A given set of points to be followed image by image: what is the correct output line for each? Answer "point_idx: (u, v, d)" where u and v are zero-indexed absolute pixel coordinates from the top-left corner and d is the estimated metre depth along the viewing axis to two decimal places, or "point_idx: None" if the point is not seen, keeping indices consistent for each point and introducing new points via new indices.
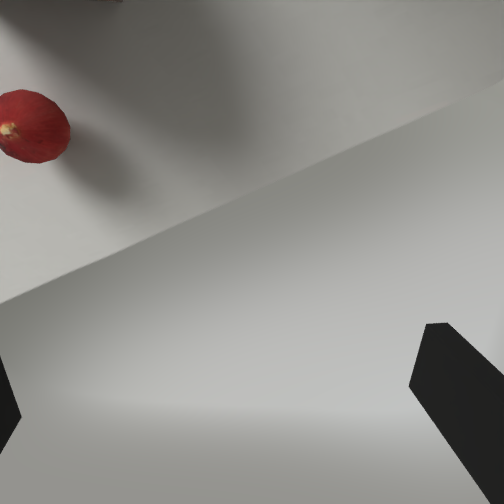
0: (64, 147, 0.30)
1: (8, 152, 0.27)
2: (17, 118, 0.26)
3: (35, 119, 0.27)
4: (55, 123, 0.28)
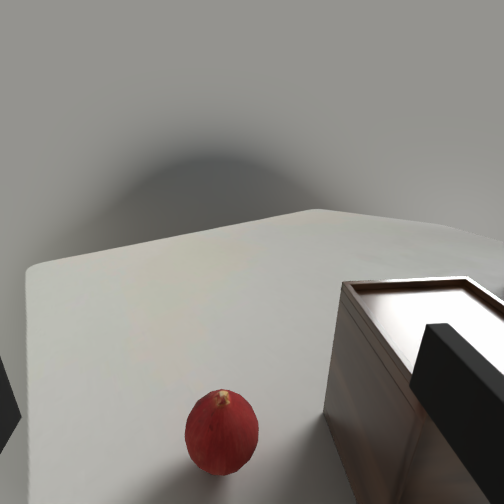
0: (201, 462, 0.25)
1: (199, 401, 0.27)
2: (234, 408, 0.25)
3: (233, 425, 0.25)
4: (230, 448, 0.24)
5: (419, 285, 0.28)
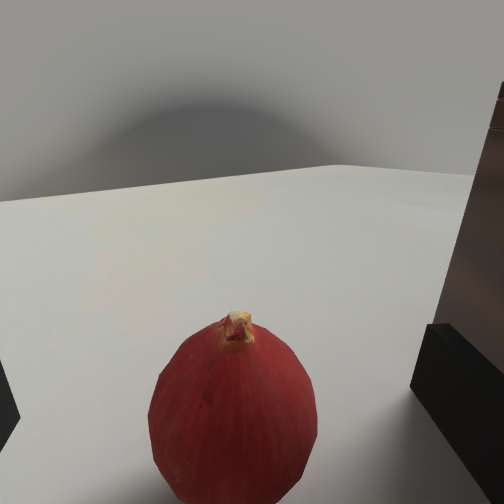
0: (184, 486, 0.10)
1: (182, 344, 0.12)
2: (264, 353, 0.10)
3: (265, 393, 0.10)
4: (257, 454, 0.09)
5: None
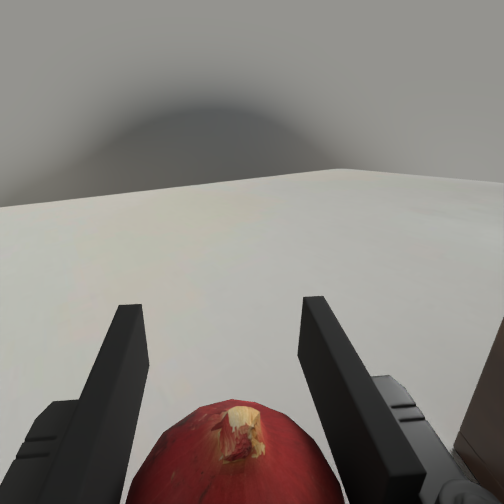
0: None
1: (164, 437, 0.09)
2: (280, 468, 0.07)
3: None
4: None
5: None
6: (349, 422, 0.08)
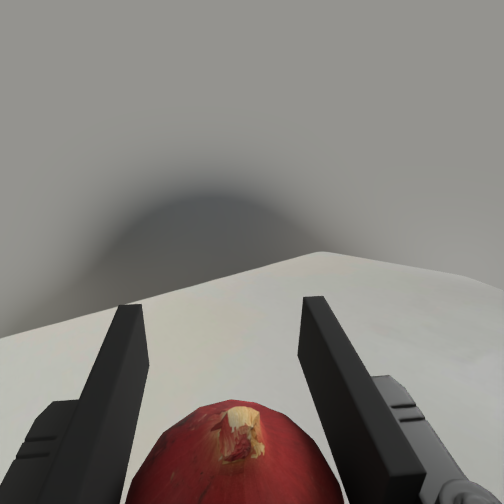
0: None
1: (164, 437, 0.09)
2: (279, 469, 0.07)
3: None
4: None
5: None
6: (349, 422, 0.08)
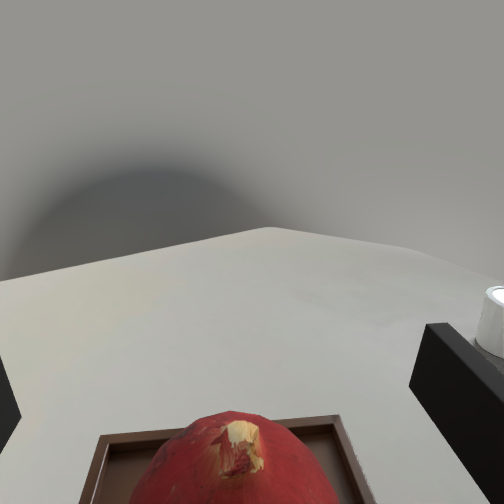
0: None
1: (164, 448, 0.09)
2: (278, 483, 0.07)
3: None
4: None
5: None
6: None
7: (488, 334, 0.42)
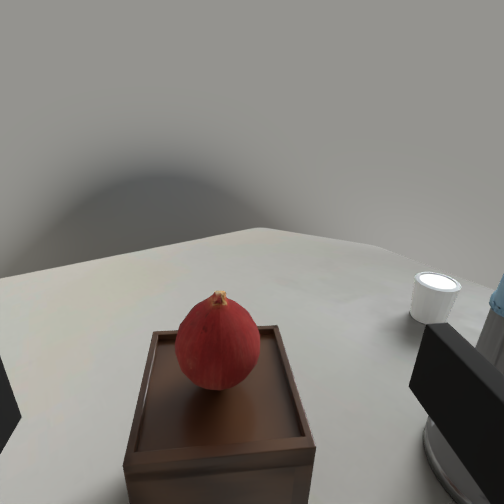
0: (193, 370, 0.21)
1: (192, 308, 0.23)
2: (232, 310, 0.22)
3: (231, 327, 0.21)
4: (227, 353, 0.21)
5: None
6: None
7: (416, 307, 0.57)
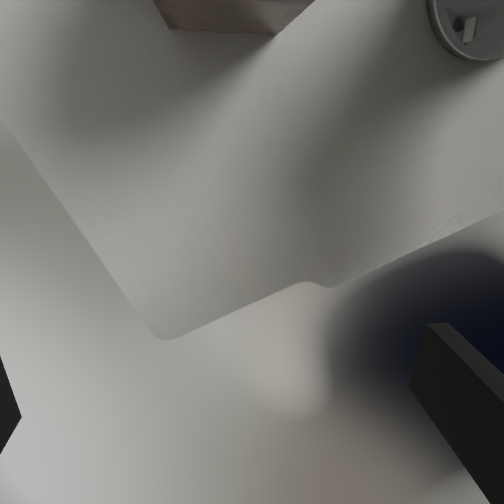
0: None
1: None
2: None
3: None
4: None
5: None
6: None
7: None
